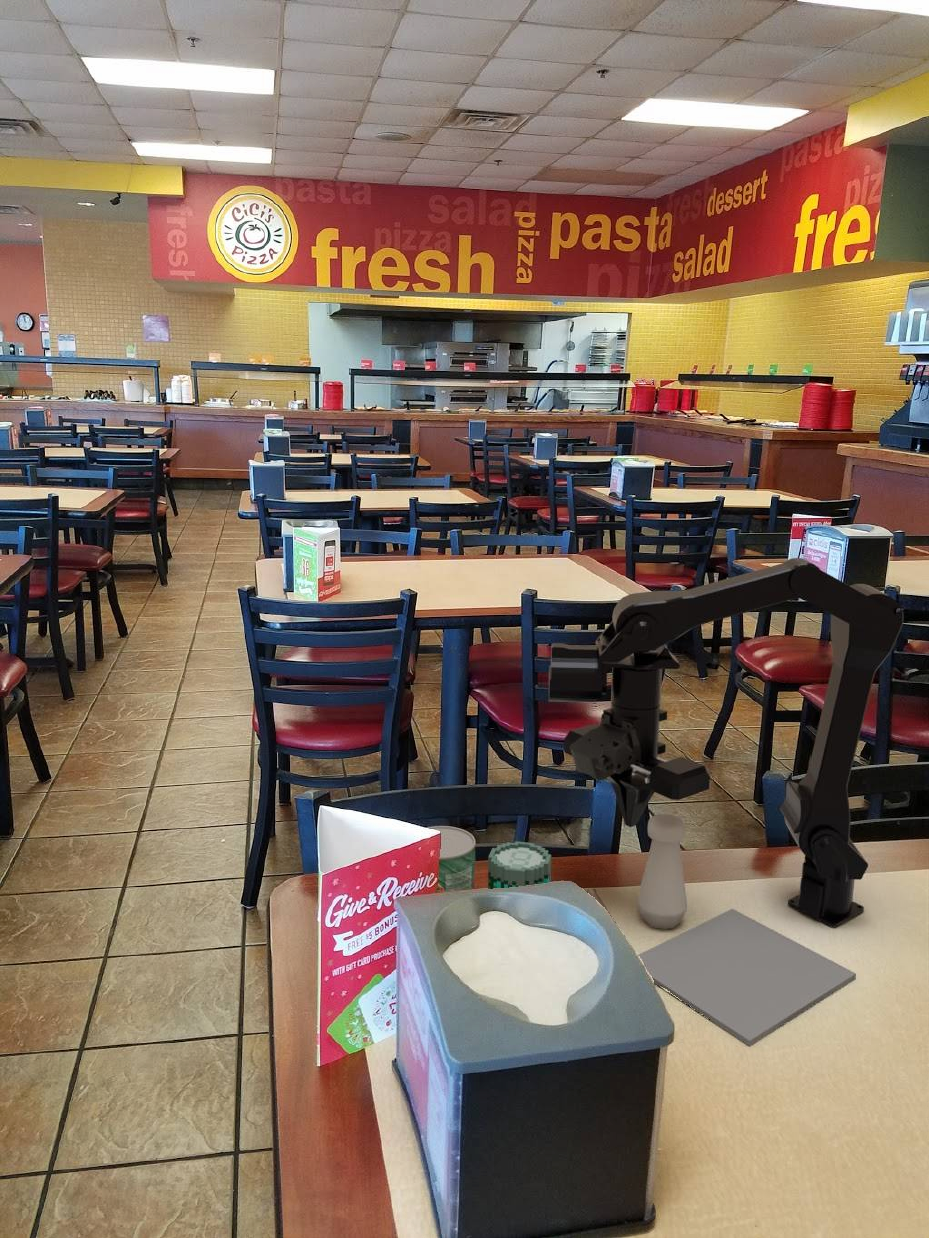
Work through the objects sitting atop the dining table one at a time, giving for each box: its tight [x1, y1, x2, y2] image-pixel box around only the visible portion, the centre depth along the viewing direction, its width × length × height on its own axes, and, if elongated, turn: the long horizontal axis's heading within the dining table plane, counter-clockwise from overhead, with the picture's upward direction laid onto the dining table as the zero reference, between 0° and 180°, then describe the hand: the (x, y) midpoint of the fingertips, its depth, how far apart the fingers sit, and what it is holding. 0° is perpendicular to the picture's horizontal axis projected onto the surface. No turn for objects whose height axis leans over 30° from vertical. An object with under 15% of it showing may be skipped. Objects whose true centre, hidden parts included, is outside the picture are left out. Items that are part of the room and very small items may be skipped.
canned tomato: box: [426, 825, 477, 892], centre depth 105 cm, size 8×8×11 cm
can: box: [487, 840, 552, 890], centre depth 93 cm, size 6×6×15 cm
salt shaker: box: [637, 813, 688, 930], centre depth 106 cm, size 6×6×13 cm
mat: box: [637, 908, 857, 1047], centre depth 98 cm, size 18×16×1 cm
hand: (630, 825), depth 110 cm, fingers closed
